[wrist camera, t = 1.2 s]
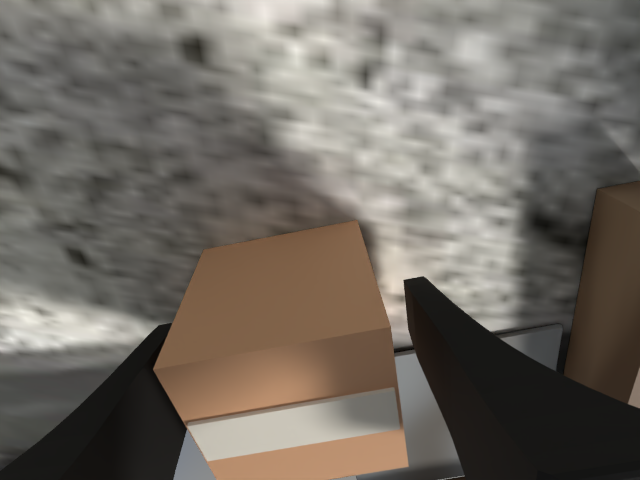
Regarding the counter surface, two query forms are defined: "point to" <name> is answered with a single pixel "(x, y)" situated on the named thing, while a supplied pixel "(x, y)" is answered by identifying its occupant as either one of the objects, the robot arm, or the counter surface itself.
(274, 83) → the counter surface
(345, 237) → the cube
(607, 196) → the corner frame
